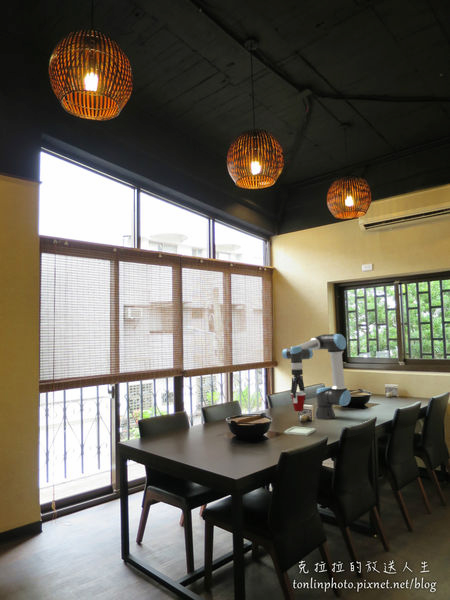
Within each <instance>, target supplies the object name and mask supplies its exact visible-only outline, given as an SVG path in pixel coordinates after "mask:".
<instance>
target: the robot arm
mask: <svg viewBox="0 0 450 600" xmlns="http://www.w3.org/2000/svg"><path fill="white" fill-rule="evenodd" d="M346 341H347V339H346V338H345V337H344V335H343V334H341V333H332V334H331V333H330V334H327V333H326V334H322V335H318V336H315V337H312V338H311V339H310V340H308V341H306V342H303V343H301V344H298V345H296V346H295V345H294V346H291V347H290V348H288V347H287V348H283V350H282V351H281V356H282V358H283V359H285V360H290V366H291V367H290V368H291V375H292V376H293V377H291V388H290V390H291V391H290V393H293V401H292V404H293V403H297V393H296V392H303V393H304V391H305V384H304V378H303V376H304V375H303V360H309V359H312V358H313V357H314V352H313V351H318V350H327V353H328V354H329V356H330V367H331V375H332V376H331V378H332V386H326V387H325V386H324V387H319V388H317V389H316V394H315V395H316V412H315V418H316V419H320V420H332V419H335V418H336V413H335V410H334V408H333V407H334V406H342V407H344V406H348V405H349V404H350V402H351V399H352V396H351V392H350V390H348V387H347V386H346V385H345V375H344V363H343V353H344V351H345V349H346V348H347V342H346ZM298 389H299V391H298Z"/></svg>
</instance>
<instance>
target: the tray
mask: <svg viewBox="0 0 450 600" xmlns="http://www.w3.org/2000/svg"><path fill="white" fill-rule="evenodd" d="M315 431H317V430H316V428H315V427H304V426H292V427H290V428H287V429H286V430H284V431H283V432H284V433H283V434H286V435H296V436H297V435H298V436H306V437H307V436H309V435H310V434H312V433H314V432H315Z"/></svg>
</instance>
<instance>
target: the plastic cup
mask: <svg viewBox="0 0 450 600" xmlns="http://www.w3.org/2000/svg"><path fill="white" fill-rule="evenodd" d="M296 393H297V403H293V393H291V392H290V393H289V394H290V397H291V400H292V401H291V402H292V406H293V410H294V412H303V410H304V405H305V398H306V395H307V392H304V391H303V392H299V391H296Z"/></svg>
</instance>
